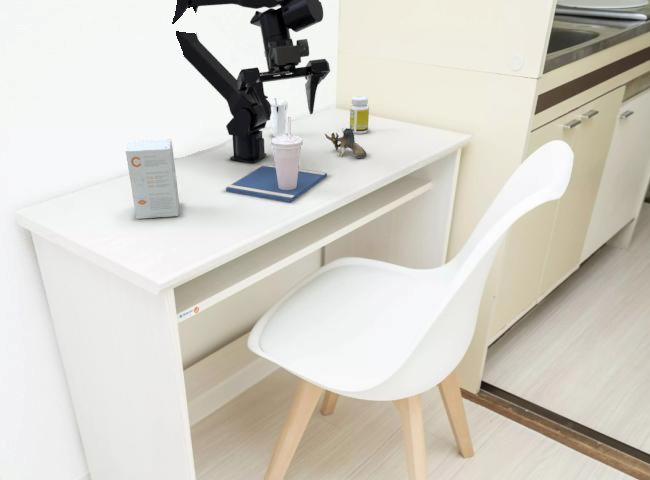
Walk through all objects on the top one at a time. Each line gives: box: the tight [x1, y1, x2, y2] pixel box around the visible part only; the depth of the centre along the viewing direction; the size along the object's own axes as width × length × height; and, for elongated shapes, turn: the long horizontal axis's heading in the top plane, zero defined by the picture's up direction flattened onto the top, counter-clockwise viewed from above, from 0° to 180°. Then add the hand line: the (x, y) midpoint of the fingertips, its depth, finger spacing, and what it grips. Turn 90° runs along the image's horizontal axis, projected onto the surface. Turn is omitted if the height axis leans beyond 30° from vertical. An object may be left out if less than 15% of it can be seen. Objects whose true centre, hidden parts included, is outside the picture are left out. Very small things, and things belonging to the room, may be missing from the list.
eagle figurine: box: [324, 127, 368, 160], centre depth 151 cm, size 8×7×9 cm
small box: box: [125, 138, 180, 220], centre depth 121 cm, size 8×6×13 cm
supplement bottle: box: [349, 95, 370, 135], centre depth 166 cm, size 5×5×8 cm
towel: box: [225, 163, 328, 204], centre depth 136 cm, size 15×17×1 cm
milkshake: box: [269, 97, 289, 138], centre depth 164 cm, size 4×5×10 cm
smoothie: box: [270, 116, 304, 190], centre depth 129 cm, size 6×6×14 cm
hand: (290, 116), depth 135 cm, fingers open, 9 cm apart
